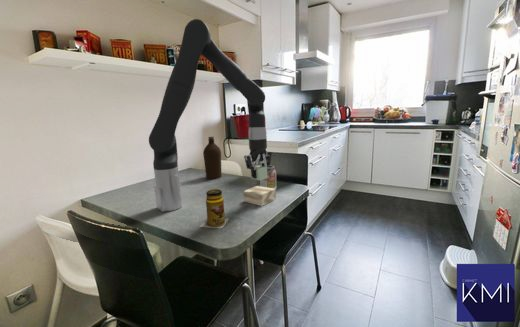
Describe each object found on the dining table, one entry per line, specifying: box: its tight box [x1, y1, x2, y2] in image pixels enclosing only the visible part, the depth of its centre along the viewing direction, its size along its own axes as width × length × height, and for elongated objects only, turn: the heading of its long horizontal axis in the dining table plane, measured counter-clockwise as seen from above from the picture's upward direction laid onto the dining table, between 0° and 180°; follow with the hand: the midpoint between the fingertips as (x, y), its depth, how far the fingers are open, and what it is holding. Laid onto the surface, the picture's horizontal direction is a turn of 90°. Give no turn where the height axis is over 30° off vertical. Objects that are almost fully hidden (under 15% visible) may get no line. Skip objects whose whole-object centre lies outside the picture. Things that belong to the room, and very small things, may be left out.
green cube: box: [250, 164, 267, 181], centre depth 107 cm, size 5×5×5 cm
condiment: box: [198, 188, 229, 229], centre depth 87 cm, size 7×8×12 cm
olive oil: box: [202, 136, 222, 180], centre depth 151 cm, size 11×11×25 cm
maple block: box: [243, 185, 277, 207], centre depth 109 cm, size 10×10×5 cm
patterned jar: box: [259, 164, 277, 191], centre depth 122 cm, size 9×8×12 cm
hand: (259, 176), depth 108 cm, fingers closed on green cube, 5 cm apart
